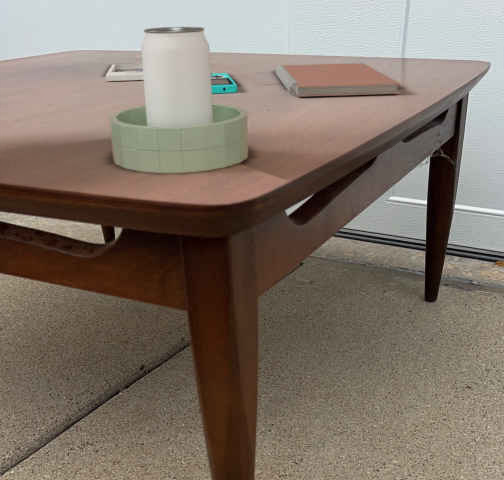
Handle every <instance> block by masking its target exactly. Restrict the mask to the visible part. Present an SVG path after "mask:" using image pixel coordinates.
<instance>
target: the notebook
mask: <svg viewBox="0 0 504 480" xmlns="http://www.w3.org/2000/svg"><path fill="white" fill-rule="evenodd" d="M275 75H276V76H277V78H278V79H279V80H280V82H282V84H283V85H284V88H286V90H287V91H288V92H289V94H290V95H292V96H294V97H295V96H297V97H299V98H300V97H301V98H303V97H328V96H329V97H330V96H333V97H334V96H363V95H365V96H366V95H393V94H394V95H395V94H396V95H397V94H400V92H401V91H399V90H398V87H399V86H401V83H400V82H398V81H397V80H395V79H393V78H392V77H389V76H388V75H385V74H384V73H382V72H380V71H378V70H376V69H375V68H373V67H371V66H369V65H367V64H365V63H363V62H355V63H354V62H353V63H323V64H322V63H320V64H319V63H318V64H317V63H316V64H285V65H284V64H282V65H278V66H277V67H275Z"/></svg>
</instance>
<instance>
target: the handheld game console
mask: <svg viewBox="0 0 504 480" xmlns="http://www.w3.org/2000/svg"><path fill="white" fill-rule="evenodd" d="M211 88H212V95H213V94H233V93H238V85H237V83H236V82H235V81H234V80H233V78H232V77H231V76H230V75H229V74H228V73H227V72H218V73H217V72H215V73H212V72H211Z"/></svg>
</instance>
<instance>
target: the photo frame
mask: <svg viewBox="0 0 504 480" xmlns="http://www.w3.org/2000/svg"><path fill="white" fill-rule="evenodd" d="M116 70H126V71H116ZM118 81H121V82H122V81H143V69H142V63H115V64H114V63H113V64H111V66H110V67H109V69H108V71H107V73H106V74H105V82H118Z"/></svg>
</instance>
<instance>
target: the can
mask: <svg viewBox="0 0 504 480" xmlns="http://www.w3.org/2000/svg"><path fill="white" fill-rule="evenodd" d="M204 31H205V27H201V26H168V27H167V26H164V27H153V28H145V29H143V32H144V38H143V41H142V43H141V47H140V52H141V55H140V56H141V64H142V69H141V70H142V71H143V80H142V81H143V91H144V92H143V93H144V103H145V105H144V106H146V117H147V126H156V127H170V126H192V125H203V124H210V123H213V111H212V103H213V94H212V88H211V73H212V70H211V69H212V68H211V51H210V50H211V49H210V44H209V41H208V40H207V38H206V36H205V32H204Z"/></svg>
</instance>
